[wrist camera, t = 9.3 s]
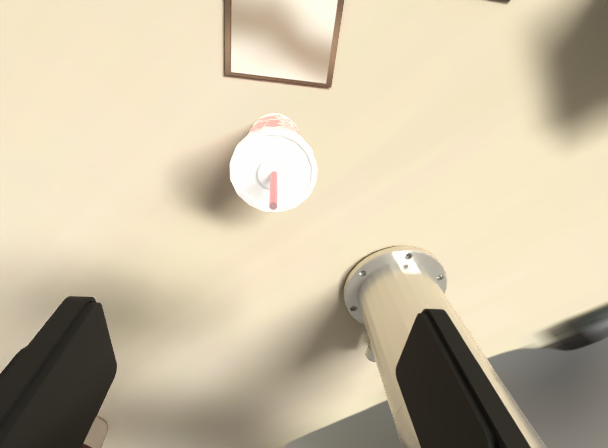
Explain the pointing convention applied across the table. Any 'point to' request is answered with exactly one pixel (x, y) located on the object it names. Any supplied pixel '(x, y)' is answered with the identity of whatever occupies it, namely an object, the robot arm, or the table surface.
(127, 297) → the table surface
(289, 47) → the track
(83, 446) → the coffee cup
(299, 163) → the beverage cup
